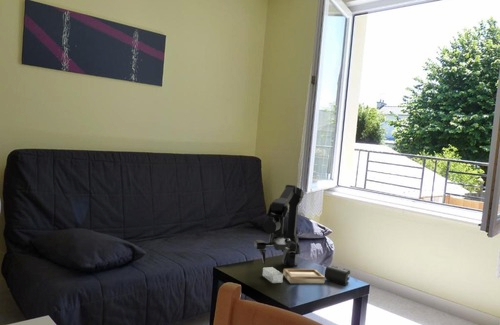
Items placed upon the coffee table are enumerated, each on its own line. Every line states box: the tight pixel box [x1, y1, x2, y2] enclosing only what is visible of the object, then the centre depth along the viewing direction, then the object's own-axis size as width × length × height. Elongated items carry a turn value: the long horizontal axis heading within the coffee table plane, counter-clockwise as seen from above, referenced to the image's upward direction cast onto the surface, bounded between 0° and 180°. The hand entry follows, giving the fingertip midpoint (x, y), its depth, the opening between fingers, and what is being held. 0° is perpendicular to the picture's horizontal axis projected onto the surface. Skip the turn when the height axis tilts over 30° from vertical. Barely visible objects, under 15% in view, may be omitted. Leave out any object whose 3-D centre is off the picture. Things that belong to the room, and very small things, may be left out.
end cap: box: [324, 265, 351, 286], centre depth 180 cm, size 10×7×7 cm
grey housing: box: [262, 266, 284, 284], centre depth 177 cm, size 10×5×4 cm, turn 24°
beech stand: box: [282, 268, 326, 284], centre depth 180 cm, size 11×16×3 cm
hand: (273, 263), depth 177 cm, fingers open, 9 cm apart
